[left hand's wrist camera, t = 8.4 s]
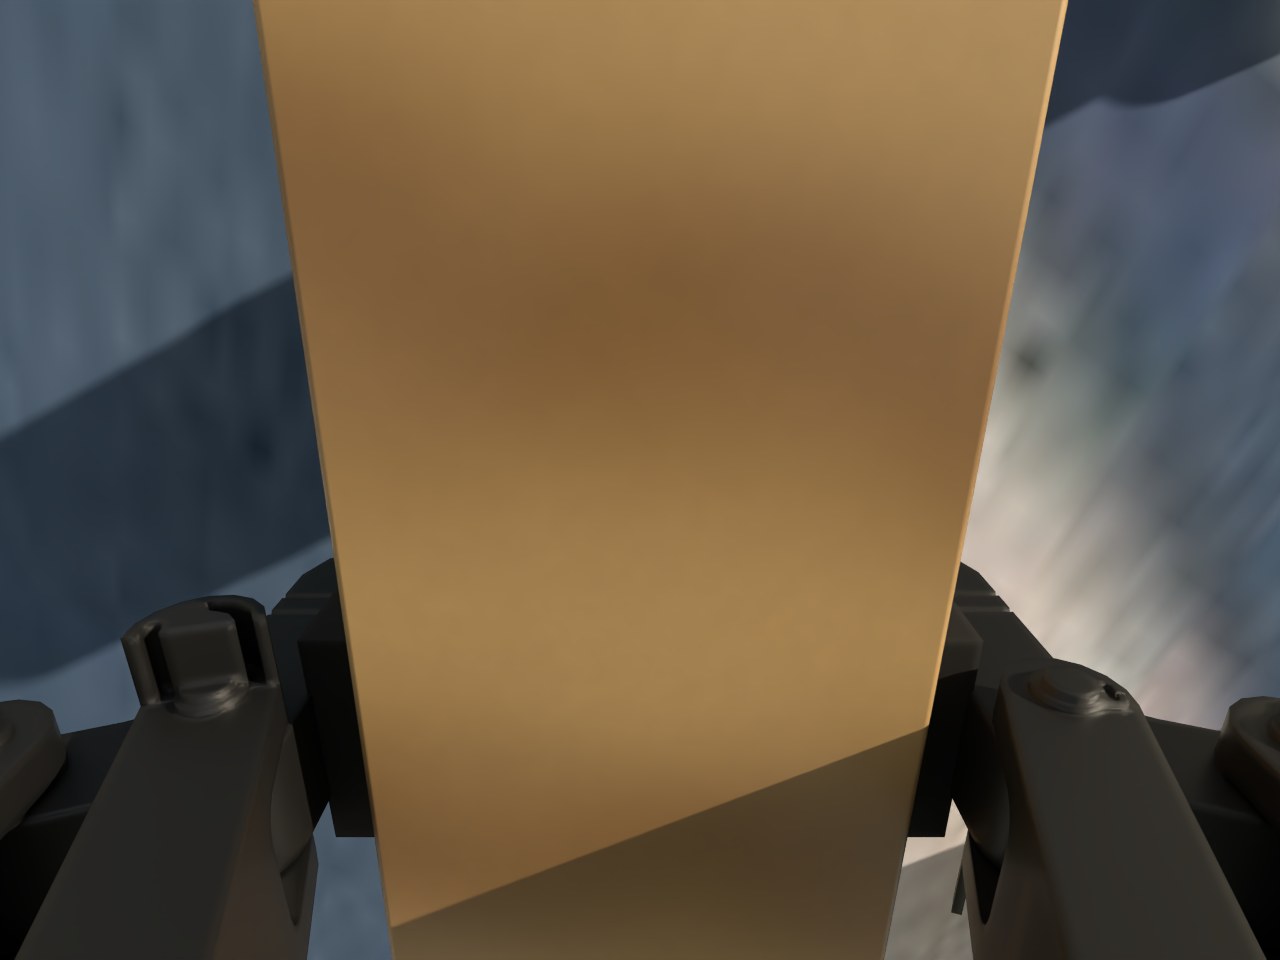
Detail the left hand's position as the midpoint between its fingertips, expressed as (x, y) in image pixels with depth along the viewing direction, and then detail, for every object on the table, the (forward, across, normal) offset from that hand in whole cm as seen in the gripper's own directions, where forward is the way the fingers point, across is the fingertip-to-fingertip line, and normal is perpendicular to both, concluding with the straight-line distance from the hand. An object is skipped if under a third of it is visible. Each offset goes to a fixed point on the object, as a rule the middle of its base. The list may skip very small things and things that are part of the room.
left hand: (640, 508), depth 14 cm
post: (0, 0, -24) cm, 24 cm away
